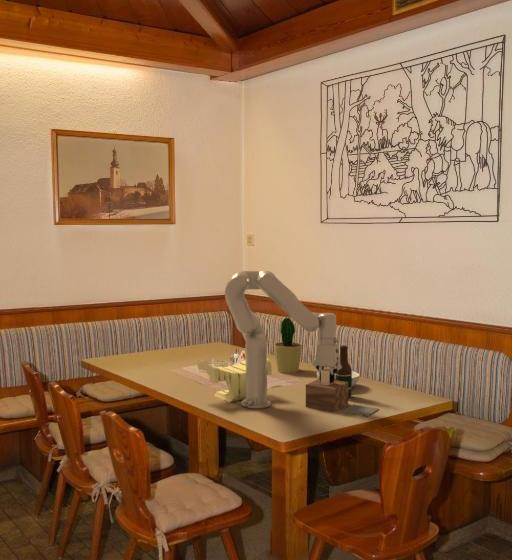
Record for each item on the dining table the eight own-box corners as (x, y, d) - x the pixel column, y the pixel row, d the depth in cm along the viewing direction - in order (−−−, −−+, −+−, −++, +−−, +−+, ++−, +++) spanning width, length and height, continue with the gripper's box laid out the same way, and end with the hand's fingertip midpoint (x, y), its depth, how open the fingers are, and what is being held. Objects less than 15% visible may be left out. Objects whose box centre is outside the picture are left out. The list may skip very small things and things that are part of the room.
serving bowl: (358, 393, 312) (358, 379, 311) (314, 391, 316) (314, 377, 315) (360, 383, 332) (360, 369, 332) (318, 381, 336) (319, 367, 336)
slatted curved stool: (215, 406, 290) (214, 367, 289) (198, 398, 304) (198, 360, 302) (271, 396, 307) (271, 359, 305) (253, 389, 320) (253, 353, 318)
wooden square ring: (334, 411, 282) (334, 388, 281) (305, 406, 290) (305, 384, 289) (348, 404, 294) (348, 382, 293) (320, 399, 301) (320, 378, 301)
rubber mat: (367, 416, 275) (367, 415, 275) (341, 412, 281) (341, 411, 281) (378, 409, 285) (378, 408, 285) (353, 405, 292) (353, 404, 291)
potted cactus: (301, 374, 350) (301, 319, 347) (272, 373, 352) (272, 318, 350) (303, 368, 365) (303, 314, 362) (276, 367, 368) (275, 314, 365)
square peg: (328, 398, 289) (329, 371, 288) (320, 396, 291) (321, 370, 290) (332, 396, 292) (333, 369, 291) (324, 394, 294) (325, 368, 293)
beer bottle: (340, 393, 312) (341, 343, 309) (354, 396, 307) (355, 345, 304) (331, 397, 306) (332, 346, 303) (346, 399, 301) (346, 348, 298)
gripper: (348, 341, 288) (347, 382, 290) (314, 337, 297) (314, 377, 299) (341, 344, 282) (340, 386, 283) (306, 340, 291) (306, 381, 292)
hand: (327, 381), depth 291 cm, fingers closed on square peg, 4 cm apart
